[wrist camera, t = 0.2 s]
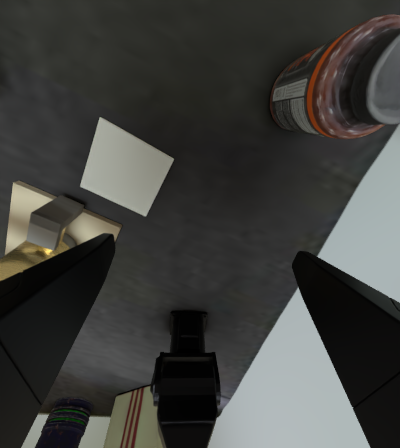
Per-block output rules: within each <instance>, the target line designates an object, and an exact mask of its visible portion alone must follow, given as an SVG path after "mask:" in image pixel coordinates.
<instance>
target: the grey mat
mask: <svg viewBox="0 0 400 448" xmlns="http://www.w3.org/2000/svg"><path fill="white" fill-rule="evenodd" d="M173 161H174V158H172V157H170V156H168V155H167V154H165V153H163V152H161V151H160V150H158V149H156V148H154V147H153V146H151V145H149V144H147V143H146V142H144V141H142V140H140V139H139V138H137V137H135V136H133V135H132V134H130V133H128V132H126V131H125V130H123V129H121V128H119V127H118V126H116V125H114V124H112V123H111V122H109V121H107V120H105V119H104V118H102V117H100V119H99V122H98V126H97V129H96V133H95V136H94V139H93V143H92V146H91V150H90V153H89V157H88V160H87V164H86V167H85V171H84V174H83V178H82V181H81V185H80V187H82V188H85V189H87V190H89V191H91V192H93V193H95V194H98V195H100V196H102V197H104V198H106V199H109V200H111V201H113V202H115V203H117V204H119V205H122V206H124V207H126V208H128V209H130V210H133V211H135V212H137V213H139V214H141V215H144V216H146V215H147V213H148V211H149V209H150V207H151V205H152V203H153V201H154V199H155V197H156V195H157V193H158V191H159V189H160V187H161V185H162V183H163V181H164V179H165V177H166V175H167V173H168V171H169V169H170V167H171V165H172V163H173Z"/></svg>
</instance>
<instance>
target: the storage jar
mask: <svg viewBox="0 0 400 448" xmlns="http://www.w3.org/2000/svg"><path fill="white" fill-rule="evenodd" d="M92 408H93V404H92V403H91V402H89V401H87V400H85V399H81V398H73V397H68V398H61V399H59V400H57V401H56V402H55V404H54V408H53V409H52V411H51V414H49V416H48V418H47V420H46V423H45V425H44V426H43V429H42V431H41V433H42V434H41V436H40V438H39V440H38V442H37V444H36V447H35V448H78V446H79V443H80V440H81V437H82V436H83V435H84V432H85V429H86V426H87V424H88V421H89V417H90V412H91V410H92Z"/></svg>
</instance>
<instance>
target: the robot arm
mask: <svg viewBox="0 0 400 448" xmlns="http://www.w3.org/2000/svg"><path fill="white" fill-rule="evenodd" d="M114 254H115V239H114V235H113V234H111V233H102V234H100V235H98V236H96V237H94V238H92V239H90V240H87V241H85V242H83V243H81V244H79V245H77V246H75V247H72V248H70V249H68V250H66V251H64V252H62V253H60V254H57V255H55V256H53V257H51V258H49V259H47V260H45V261H42V262H40V263H38V264H36V265H34V266H32V267H30V268H27V269H25V270H23V271H22V272H19V273H17V274H14V275H12V276H10V277H8V278H6V279H4V280H1V281H0V448H21V447H22V445H23V442H24V440H25V439H26V437H27V435H28V433H29V431H30V429H31V427H32V425H33V423H34V420H35V419H36V417H37V415H38V413H39V411H40V409H41V405H42V404H43V403H44V401H45V399H46V397H47V395H48V393H49V391H50V389H51V387H52V385H53V383H54V381H55V379H56V377H57V375H58V373H59V371H60V369H61V367H62V365H63V363H64V361H65V359H66V357H67V355H68V353H69V351H70V349H71V347H72V345H73V343H74V341H75V339H76V337H77V335H78V333H79V331H80V329H81V327H82V325H83V323H84V321H85V319H86V317H87V315H88V314H89V312H90V310H91V308H92V306H93V304H94V302H95V300H96V298H97V296H98V294H99V292H100V290H101V288H102V286H103V284H104V281H105V279H106V276H107V273H108V271H109V268H110V265H111V262H112V260H113V257H114ZM292 269H293V272H294V275H295V278H296V281H297V284H298V287H299V290H300V292H301V295H302V298H303V300H304V302H305V304H306V307H307V309H308V311H309V313H310V315H311V317H312V320H313V322H314V324H315V326H316V328H317V331H318V333H319V335H320V337H321V339H322V342H323V344H324V346H325V348H326V350H327V353H328V355H329V357H330V359H331V361H332V363H333V366H334V368H335V370H336V372H337V375H338V377H339V379H340V381H341V383H342V386H343V388H344V390H345V392H346V394H347V397H348V399H349V401H350V403H351V405H352V407H353V410H354V412H355V415H356V417H357V419H358V421H359V423H360V425H361V427H362V430H363V432H364V434H365V436H366V439H367V441H368V443H369V445H370V447H371V448H400V303H399V302H397V301H395V300H394V299H392V298H389V297H388V296H386V295H384V294H383V293H381V292H379V291H377V290H375V289H374V288H372V287H370V286H368V285H367V284H365V283H363V282H361V281H359V280H358V279H356V278H354V277H352V276H350V275H349V274H347V273H345V272H343V271H341V270H340V269H338V268H336V267H334V266H332V265H331V264H329V263H327V262H325V261H324V260H322V259H320V258H318V257H316V256H315V255H313V254H311V253H309V252H306V251H299V252H298V253H297V255H296V257H295V259H294V261H293V263H292ZM206 321H207V313H205V312H178V311H173V312H171V320H170V335H171V345H170V353H164V352H160V356H159V357H158V358H156V364H155V370H154V374H153V378H152V382H151V386H150V392H151V394H152V395H153V399H154V400H153V406H154V407H157V425H158V433H159V436H160V439H161V443H162V446H163V448H208V445H209V442H210V438H211V436H212V432H213V429H214V426H215V422H216V419H217V415H218V409H217V406H219V405H220V398H221V392H220V379H219V372H218V366H217V360H216V354H215V352H212V353H205V341H204V332H205V326H206Z"/></svg>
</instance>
